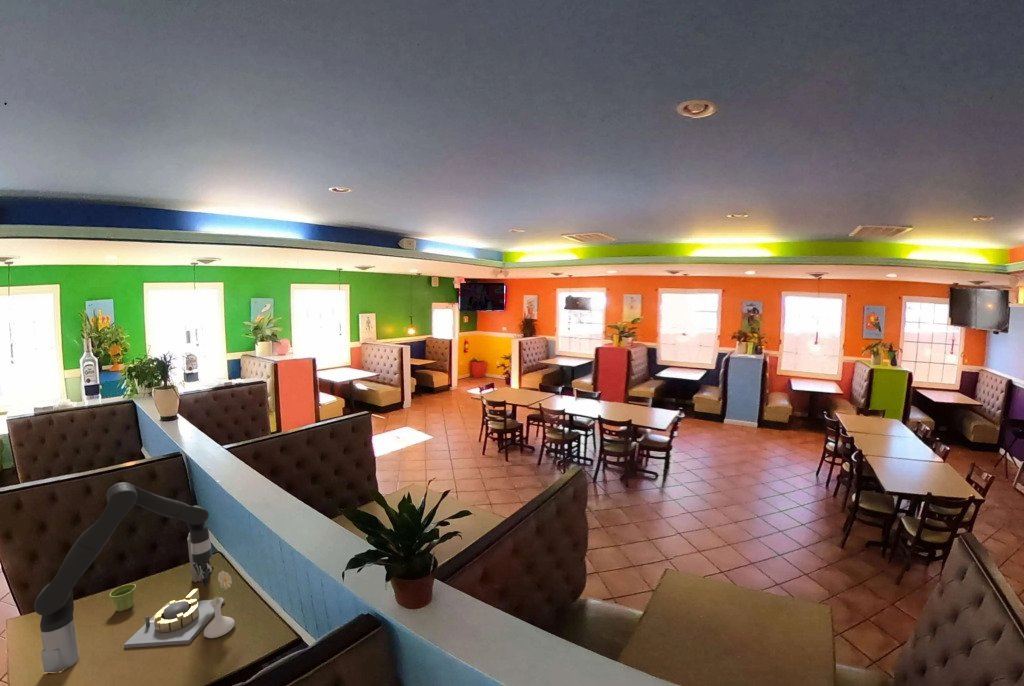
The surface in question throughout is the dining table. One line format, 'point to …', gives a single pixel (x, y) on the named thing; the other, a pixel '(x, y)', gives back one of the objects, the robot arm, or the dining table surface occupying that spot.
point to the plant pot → (123, 597)
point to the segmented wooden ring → (181, 618)
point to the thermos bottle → (193, 571)
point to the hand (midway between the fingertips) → (205, 584)
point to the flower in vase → (220, 622)
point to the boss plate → (178, 636)
